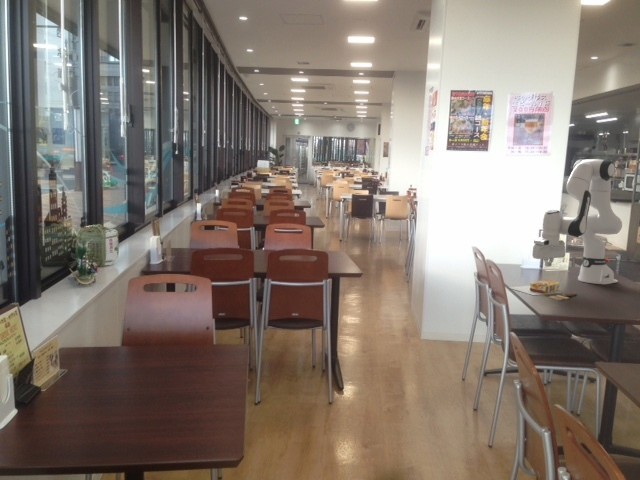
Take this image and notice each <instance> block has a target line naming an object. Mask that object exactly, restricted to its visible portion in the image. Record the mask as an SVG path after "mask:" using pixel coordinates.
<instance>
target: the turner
mask: <svg viewBox="0 0 640 480" xmlns="http://www.w3.org/2000/svg"><path fill="white" fill-rule="evenodd" d="M577 295H578V293H577V292H576V291H575V292H570V293H564V294H562V295H561V294H557V295H552V296H551V295H550V296H548V298H549V299H551V300H556V301H564V300H569V299H570V297H573V296H577Z"/></svg>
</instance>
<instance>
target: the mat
mask: <svg viewBox="0 0 640 480" xmlns="http://www.w3.org/2000/svg"><path fill="white" fill-rule="evenodd" d="M508 289H511V290H514V291H517V292H521V293H524V294H527V295H531V296H543V295H554V294H562V293H563V292H562V291H560V290H557V291H553V292H549V293H546V294H544V293H540V292H535V291H531V290H530V285H522V286H520V285H519V286H509V287H508Z"/></svg>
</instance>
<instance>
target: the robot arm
mask: <svg viewBox="0 0 640 480" xmlns="http://www.w3.org/2000/svg"><path fill="white" fill-rule="evenodd" d="M615 172H616V165H615V164H614V161H612V160H609V159H601V158H588V159H585V158H583V159H582V158H581V159H577V160H576V161H575V163H574V164H573V167H572V171H571V173H570V175H569V177H568V179H567V182H566V185H565V189H566V192H567V194H568V195H569V196H570V197H572V198H573V199H575V200H577V201H578V207H577V212H576V215H575V216H574V217H571V216H565V215H563V214H561V211H560V210H558V209H552V210H551V209H550V210H547V211H545V212H544V216H543V220H542V221H543V222H542V234H541V236H540V237H538V238H536V239H534V240H533V248H532V259H537V260H542V259H543V261H544V267H552V264H553V263H554V260H555V259H561V258H565V256H566V244H565V243H566V242H565V241H564V240H562V239H561V238H560V236H561V235H564V236H565V235H566V236H571V237H574V238H579V237H581V238H582V241H583V255H582V258H581V262H582V264H581V265H580V269H579V274H578V276H577V280H578V281H579V282H584V283H586V284H587V283H588V284H597V285H610V284H614V283H615V284H616V283H619V281H618V280H617V279H615V278H614V277H615V274H614V271H613V270H612V268H610V267H609V266H608V264H607V263H609V262H610V261H611V260H610V258H605V257H606V256H605V254H606V244H605V243H604V242H603V241H602V240H600V239H598V237H596V234H599V235H617V234H619V233H620V231H621V230H622V228H623V222H622V220H621V218H620V217H619V216H617V215H616V213H614V211H613V209H612V205H611V193H612V192H611V191H612V181H611V179H612V177H613V176H614V174H615ZM590 207H591V208H593V209H594V210H597V212H598V213H597V214H595V213H589V212H590Z"/></svg>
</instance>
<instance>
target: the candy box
mask: <svg viewBox="0 0 640 480" xmlns="http://www.w3.org/2000/svg"><path fill="white" fill-rule="evenodd" d="M560 285H561V283H560V282H558V281H552V280H547V279H543V280H537V281H534V282H531V283H530V284H529V286H530V290H531V291H535V292H540V293H544V295H547V294H546V293H549V292H553V291H560Z"/></svg>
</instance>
